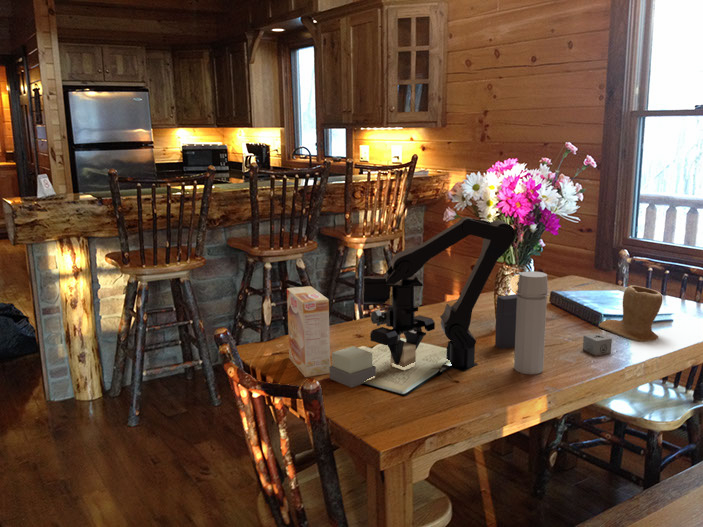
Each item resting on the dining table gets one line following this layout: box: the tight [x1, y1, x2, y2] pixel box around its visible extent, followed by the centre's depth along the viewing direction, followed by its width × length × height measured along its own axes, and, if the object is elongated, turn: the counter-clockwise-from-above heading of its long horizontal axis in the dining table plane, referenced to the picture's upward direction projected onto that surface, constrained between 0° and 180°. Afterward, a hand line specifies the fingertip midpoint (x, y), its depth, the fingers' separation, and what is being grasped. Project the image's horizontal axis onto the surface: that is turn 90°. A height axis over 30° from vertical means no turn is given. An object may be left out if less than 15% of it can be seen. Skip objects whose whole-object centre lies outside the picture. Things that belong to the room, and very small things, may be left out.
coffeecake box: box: [286, 285, 331, 378], centre depth 165 cm, size 15×7×20 cm, turn 21°
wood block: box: [390, 341, 417, 367], centre depth 164 cm, size 4×4×6 cm
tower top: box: [331, 345, 373, 374], centre depth 157 cm, size 7×7×4 cm
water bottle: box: [513, 270, 550, 375], centre depth 159 cm, size 9×8×25 cm
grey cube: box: [582, 333, 613, 356], centre depth 172 cm, size 5×5×5 cm
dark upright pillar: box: [494, 293, 518, 350], centre depth 177 cm, size 11×4×15 cm, turn 110°
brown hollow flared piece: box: [598, 285, 664, 343], centre depth 185 cm, size 15×12×15 cm
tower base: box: [329, 364, 377, 388], centre depth 158 cm, size 8×8×4 cm
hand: (403, 361), depth 164 cm, fingers closed on wood block, 4 cm apart
